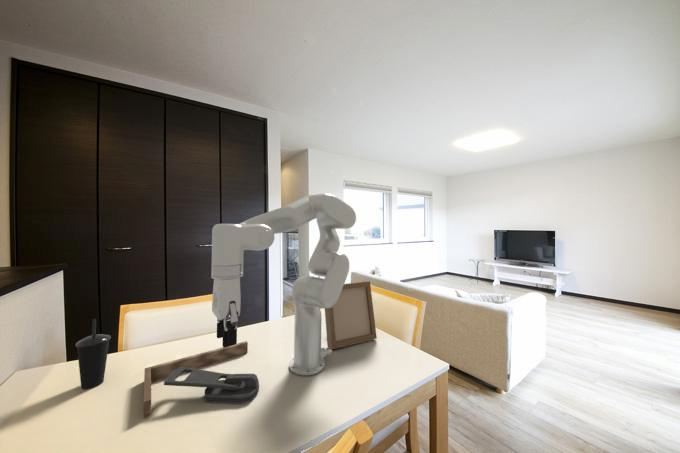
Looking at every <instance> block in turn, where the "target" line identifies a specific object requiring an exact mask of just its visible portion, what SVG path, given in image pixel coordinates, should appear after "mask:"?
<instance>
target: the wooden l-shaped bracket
mask: <svg viewBox="0 0 680 453" xmlns="http://www.w3.org/2000/svg"><path fill="white" fill-rule="evenodd" d="M248 345H249V344H248V341H242V342H238V343H237V344H236V345H232V346H229V347H225V348H224V347H223V346H222V347H218V348H216V349H213V350H209V351H205V352H201V353H197V354H193V355H190V356H186V357H183V358H178V359H175V360H170V361H167V362H164V363H160V364H156V365H152V366H149V367H145V368H144V382H143V384H144V386H143V387H144V388H143V418H144V419H145V418H147V417H150V416H152V382H154V381H157V380H162V379H166V378H167V377H168V376H169V375H170V374H171V373H172V372H173V371H174V370H176V369H177V368H179V367H187V368H193V369H198V368H201V367H205V366H208V365H211V364H214V363H218V362H221V361H225V360H228V359H231V358H235V357H239V356H241V355H245V354H248V352H249V350H248V348H249V347H248Z"/></svg>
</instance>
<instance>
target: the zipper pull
mask: <svg viewBox="0 0 680 453" xmlns="http://www.w3.org/2000/svg"><path fill="white" fill-rule="evenodd" d="M183 373H189V374H188V376H186V377H185V378H184V380H177V379H178V378H179V376H180V375H182V374H183ZM163 385H164V386H174V387H175V386H176V387H190V388H191V387H194V388H195V387H196V388H205V389H204V400H205V401H204V402H205V404H227V405H228V404H229V405H243V404H247V403H251V402H252V401H254V399H255V398H256V397H257V396H258V393H259V391H260V382H259V378H258V375H257V374H255V373H223V372H216V371H212V370H204V369H198V368H195V369H193V368H187V367H179V368H177V369H176V370H174V371H173V372H172V373H171V374H170V375H169V376H168V377H165V380H164V382H163Z"/></svg>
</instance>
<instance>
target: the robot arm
mask: <svg viewBox="0 0 680 453" xmlns="http://www.w3.org/2000/svg"><path fill="white" fill-rule="evenodd" d="M315 219H316V223H317V226H318V230H319V240H318V242H317V244H316V246H315V248H314V251H312V255H311V256H310V259H309V261H308V266H307V268H308V271H309V272H310V273H311V274H312V275H315V276H310V275H304V276H299V277H298V278H296V279H295V281H294V283H293V285H292V288H291V293H292V301H293V307H294V331H293V333H294V335H293V336H294V337H293V338H294V340H293V347H294V348H293V358H291V360H290V361H289V370H290V372H292V373H293V374H295V375H299V376H306V377H307V376H313V375H316V374H318V373H321V372H322V371H323V370H324V369H325V367H326V361H325V358H326V356H329V355H332V354H333V349H330V348H327V349H326V348H325V347H322V311H321V309H323V310H325V309H329V308H332V307H333V306H334V305H335V304H336V302H337V301H338V298H339V296H340V294H341V291H342V288H343V286H344V284H346V281H347V278H348V275H349V273H350V272H349V271H350V260H349V258H348V256H347V255H346V254H345V253H343V252H340V251H339V248H340V246H341V240H340V237H339V235H338V232H337V230H336V229H338V230H339V229H341V230H342V229H343V230H346V229H351V228H352V227H354V226H355V224H356V223H357V215H356V211H355V209H354V208H353V207H352V206H350V205H349V204H347V203H346V202H345V201H343V200H342V199H341V198H339V197H337V196H335V195H334V194H331V193H327V192H326V193H325V192H324V193H318V194H309V195H307V196H304V197H302V198H299V199H298V200H295V201H293V202H291V203H289V204H286V205H284V206H282V207H279V208H276V209H273V210H269V211H267V212H265V213H262V214H258V215H256V216H254V217H251V218H248V219H246V220H244V221H242V222H240V223H217V224H214V225H213V227H212V230H211V231H212V232H211V276H210V278H211V279H213V287H212V299H211V300H212V302H211V311H212V314H213V315H214V316H215V317H216V318H217V320H216V338H217V339H221V338H222V348H223V347H224V348H225V347H229V346H232V345H236V344H238V343H237V342H238V340H237V339H238V322H239V318H238V317H239V316H240V315H241V303H242V302H241V300H242V299H241V295H242V294H241V278H242V277H243V276H244V254H245V253H244V251H248V250H249V251H264V250H266V249H267V250H268V248H270V247H271V246H272V245H273V243H274V241H275V235H277V234H282V233H283V234H284V233H289V232H293V231H296V230H298V229H300V228H301V227H302V226H304V225H306V224H308V223H310V222H311V221H313V220H315ZM316 276H317V277H316ZM321 277H324V278H321Z"/></svg>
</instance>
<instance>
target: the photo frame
mask: <svg viewBox="0 0 680 453" xmlns="http://www.w3.org/2000/svg"><path fill="white" fill-rule="evenodd" d="M324 316H325V317H324V318H325V330H326V341H327V342H326V343H327V349H331V350H336V349H339V348H343V347H347V346H351V345H356V344H361V343H364V342H368V341H372V340H378V339H377V336H378V335H377V328H376V323H375V322H376V321H375V313H374V304H373V294H372V287H371V280H370V281H358V282H349V283H344V286H343V288H342V291H341V294H340V296H339V298H338V301H337V302H336V304H335V305H334V306H333V307H332V308H329V309H324Z"/></svg>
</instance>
